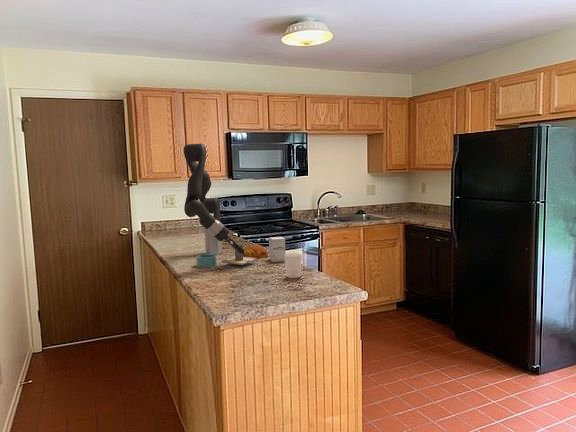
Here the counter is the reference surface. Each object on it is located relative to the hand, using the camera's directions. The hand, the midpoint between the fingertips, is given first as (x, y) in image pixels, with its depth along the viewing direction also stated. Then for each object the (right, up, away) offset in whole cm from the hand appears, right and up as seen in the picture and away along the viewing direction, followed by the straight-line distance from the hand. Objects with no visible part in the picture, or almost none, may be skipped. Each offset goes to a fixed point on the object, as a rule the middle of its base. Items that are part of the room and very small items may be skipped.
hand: (242, 252), depth 230 cm
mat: (-2, -7, 0) cm, 7 cm away
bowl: (-19, -8, +1) cm, 20 cm away
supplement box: (+18, -6, +10) cm, 21 cm away
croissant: (+5, -5, +23) cm, 24 cm away
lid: (-2, -5, 0) cm, 5 cm away
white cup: (+26, -9, -26) cm, 38 cm away
